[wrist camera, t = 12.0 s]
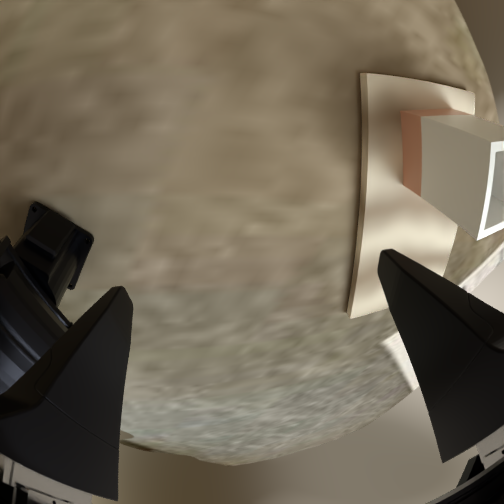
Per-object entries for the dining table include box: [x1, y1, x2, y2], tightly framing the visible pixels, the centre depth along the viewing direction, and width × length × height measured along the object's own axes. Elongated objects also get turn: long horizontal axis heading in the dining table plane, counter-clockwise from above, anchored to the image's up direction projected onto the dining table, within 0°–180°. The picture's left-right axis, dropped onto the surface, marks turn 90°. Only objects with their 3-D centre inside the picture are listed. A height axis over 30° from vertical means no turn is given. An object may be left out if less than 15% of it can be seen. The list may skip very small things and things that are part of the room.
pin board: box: [347, 73, 475, 319], centre depth 22 cm, size 24×13×4 cm, turn 6°
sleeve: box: [400, 109, 504, 240], centre depth 15 cm, size 6×6×9 cm
